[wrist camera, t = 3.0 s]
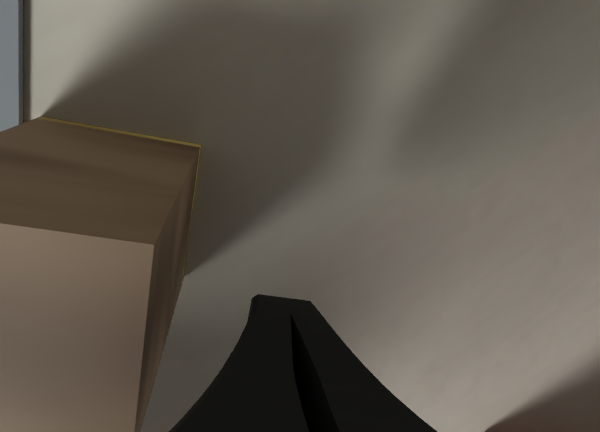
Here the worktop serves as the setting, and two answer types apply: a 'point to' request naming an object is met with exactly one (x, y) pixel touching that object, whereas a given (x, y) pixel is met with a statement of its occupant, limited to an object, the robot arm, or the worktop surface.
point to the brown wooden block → (88, 271)
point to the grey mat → (11, 63)
